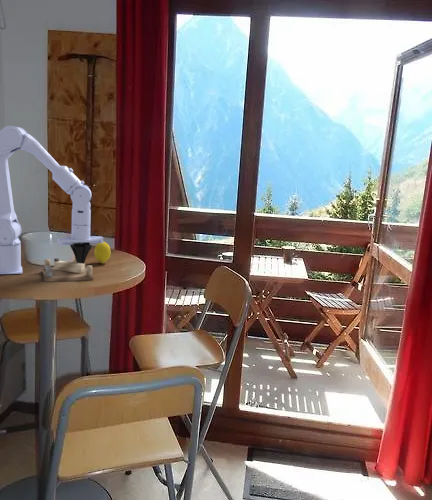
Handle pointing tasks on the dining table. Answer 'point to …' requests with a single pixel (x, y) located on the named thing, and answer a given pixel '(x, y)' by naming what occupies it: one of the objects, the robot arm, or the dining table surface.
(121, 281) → the dining table surface
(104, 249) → the lemon
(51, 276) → the board
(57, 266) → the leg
